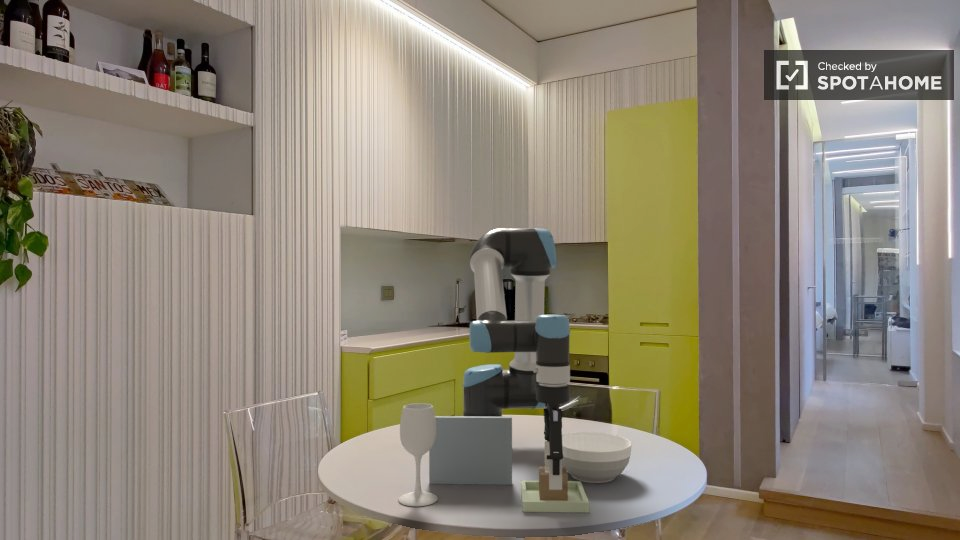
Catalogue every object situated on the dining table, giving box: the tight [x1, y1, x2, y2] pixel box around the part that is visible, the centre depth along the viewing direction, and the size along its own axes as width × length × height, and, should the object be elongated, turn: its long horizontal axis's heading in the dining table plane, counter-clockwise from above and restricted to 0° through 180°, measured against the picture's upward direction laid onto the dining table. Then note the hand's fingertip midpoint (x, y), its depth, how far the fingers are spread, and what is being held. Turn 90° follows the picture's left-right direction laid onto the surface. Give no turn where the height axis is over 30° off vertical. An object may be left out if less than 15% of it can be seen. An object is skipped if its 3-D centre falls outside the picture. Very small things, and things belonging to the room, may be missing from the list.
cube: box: [538, 466, 569, 501], centre depth 140 cm, size 6×6×6 cm
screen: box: [428, 415, 513, 486], centre depth 151 cm, size 20×2×16 cm, turn 88°
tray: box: [520, 480, 590, 514], centre depth 140 cm, size 14×14×2 cm
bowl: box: [557, 431, 632, 484], centre depth 157 cm, size 19×19×9 cm
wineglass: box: [398, 402, 438, 507], centre depth 140 cm, size 9×9×21 cm
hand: (553, 479), depth 140 cm, fingers open, 13 cm apart
